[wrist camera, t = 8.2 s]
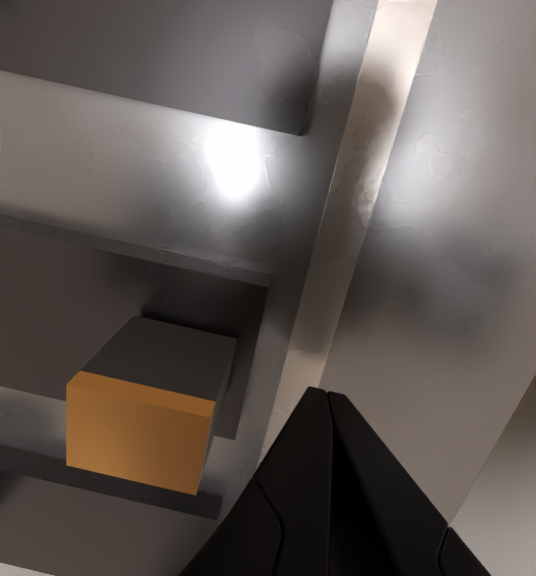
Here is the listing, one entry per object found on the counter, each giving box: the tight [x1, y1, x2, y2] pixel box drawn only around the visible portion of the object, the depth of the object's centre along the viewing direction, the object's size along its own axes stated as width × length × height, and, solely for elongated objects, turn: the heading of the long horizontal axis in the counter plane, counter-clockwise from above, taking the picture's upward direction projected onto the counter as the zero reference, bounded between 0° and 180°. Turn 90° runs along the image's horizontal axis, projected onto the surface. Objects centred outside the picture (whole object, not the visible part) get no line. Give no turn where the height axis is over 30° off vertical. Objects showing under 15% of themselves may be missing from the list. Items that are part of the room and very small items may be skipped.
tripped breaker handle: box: [66, 315, 237, 495], centre depth 8 cm, size 2×2×3 cm
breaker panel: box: [0, 0, 536, 576], centre depth 9 cm, size 20×24×5 cm
